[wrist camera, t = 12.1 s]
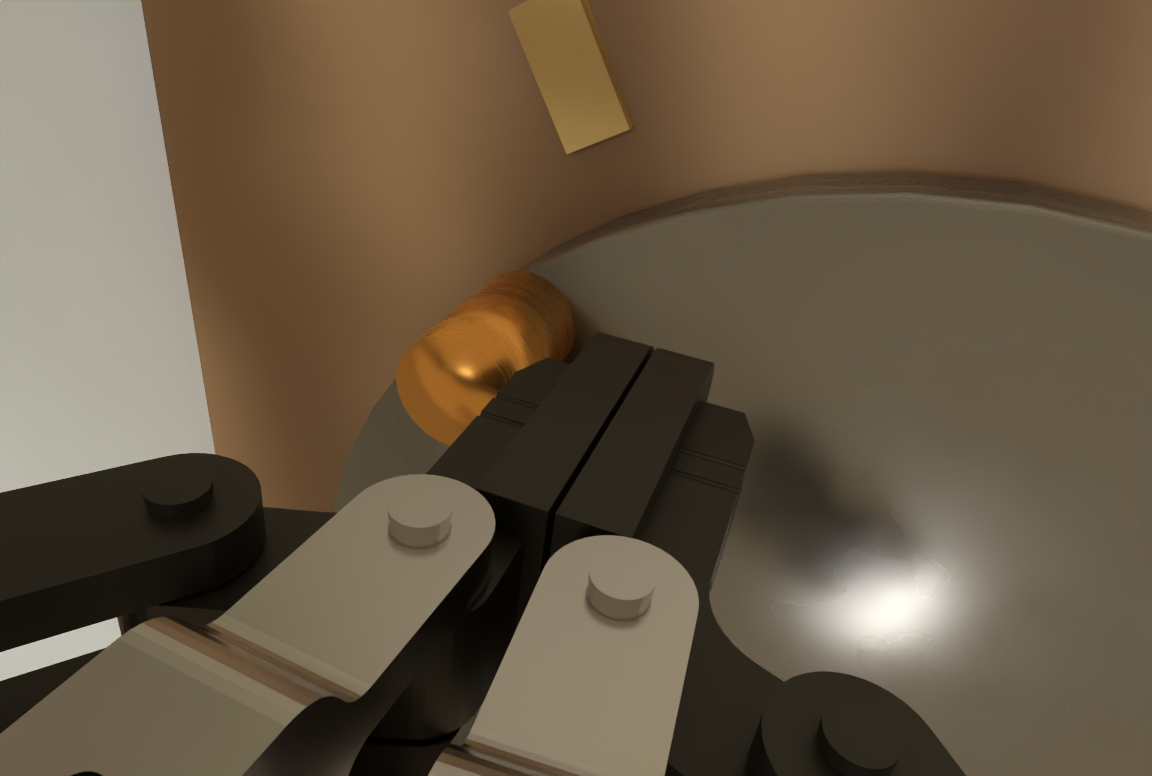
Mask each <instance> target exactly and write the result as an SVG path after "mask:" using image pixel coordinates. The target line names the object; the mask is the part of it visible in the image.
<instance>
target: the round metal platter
mask: <svg viewBox="0 0 1152 776" xmlns="http://www.w3.org/2000/svg"><path fill="white" fill-rule="evenodd" d="M597 332H602V333H605V334H609V335H613V336H616V337H620V338H624V339H627V340H631V341H635V342H638V343H642V344H646V345H650V346H653V347H654V350H655V349H656V348H661V349H665V350H669V351H672V352H676V353H680V354H684V355H687V356H691V357H695V358H698V359H702V360H706V361H709V362H713V363H714V364H715V366H714V373H713V378H712V383H711V387H710V391H709V396H708V400H707V402H708V403H711V404H715V405H718V406H722V407H726V408H729V409H733V410H736V411H740V412H743V413H745V415H746V418H747V420H748V423H749V426H750V429H751V431H752V434H753V437H754V440H755V442H754V445H753V449H752V453H751V456H750V460H749V463H748V467H747V471H746V474H745V478H744V481H743V485H742V489H741V492H740V496H739V499H738V503H737V507H736V510H735V514H734V517H733V521H732V525H731V528H730V532H729V535H728V539H727V542H726V545H725V548H724V552H723V555H722V558H721V561H720V564H719V567H718V571H717V574H716V577H715V581H714V584H713V587H712V590H711V593H710V597H709V599H710V604H711V608H712V611H713V614H714V616H715V618H716V621H717V623H718V624H719V626H720V627H721V629H722V631H723V632H724V634H725V635H726V636H727V637H728V638H729V640H730V641H731V642H732V643H733V644H734V645H735V646H736V647H737V648H738V649H739V650H740V651H741V652H742V653H743V654H745V655H746V656H747V657H749V658H750V659H751V660H753V661H754V662H755V663H757V664H758V665H760V666H761V667H763V668H764V669H766V670H767V671H769V672H770V673H772V674H773V675H775V676H776V677H778V678H779V679H781V680H782V681H784V682H785V681H787V680H788V679H790V678H792V677H794V676H797V675H801V674H804V673H809V672H817V671H827V672H838V673H844V674H849V675H852V676H856V677H859V678H862V679H865V680H867V681H869V682H872V683H874V684H876V685H879V686H880V687H882V688H884V689H886V690H887V691H889V692H891V693H892V694H894V695H895V696H897V697H898V698H899V699H901V700H902V701H904V702H905V703H906V704H907V705H909V706H910V707H911V708H912V709H913V710H914V711H915V712H916V713H917V714H918V715H919V716H920V717H921V718H922V719H923V720H924V721H925V723H926V724H927V725H928V726H929V727H930V728H931V730H932V731H933V732H934V734H935V735H936V736H937V738H938V739H939V740H940V742H941V743H942V744H943V746H944V747H945V748H946V750H947V751H948V752H949V753H950V755H951V756H952V757H953V759H954V760H955V761H956V763H957V764H958V765H959V767H960V768H961V769H962V771H963V772H964V773H965V775H966V776H1152V213H1150V212H1147V211H1144V210H1141V209H1137V208H1133V207H1128V206H1124V205H1119V204H1115V203H1110V202H1106V201H1101V200H1097V199H1092V198H1088V197H1083V196H1079V195H1074V194H1070V193H1065V192H1061V191H1056V190H1052V189H1047V188H1043V187H1038V186H1034V185H1029V184H1025V183H1015V182H1004V181H994V180H984V179H973V178H963V177H953V176H942V175H932V174H922V173H874V174H836V175H804V176H798V177H791V178H785V179H778V180H772V181H765V182H759V183H752V184H746V185H739V186H733V187H726V188H720V189H713V190H708V191H705V192H701V193H698V194H694V195H691V196H688V197H684V198H681V199H677V200H674V201H671V202H667V203H664V204H660V205H657V206H653V207H650V208H647V209H643V210H640V211H636V212H633V213H630V214H626V215H624V216H621V217H619V218H617V219H615V220H613V221H610V222H608V223H606V224H604V225H602V226H599V227H597V228H595V229H593V230H591V231H588V232H586V233H584V234H582V235H580V236H577V237H575V238H573V239H571V240H569V241H566V242H564V243H562V244H560V245H558V246H555V247H553V248H552V249H550V250H549V251H547V252H546V253H544V254H542V255H541V256H539V257H538V258H536V259H535V260H533V261H532V262H530V263H529V264H527V265H526V266H524V267H523V268H521V269H519V270H518V271H507V272H504V273H501V274H499V275H496V276H495V277H493V278H492V279H491V280H489V281H488V282H487V283H486V284H485V285H483V286H482V287H481V288H480V289H478V290H477V291H476V292H475V293H474V294H472V295H471V296H470V297H469V298H467V299H466V300H465V301H464V302H463V303H461V304H460V305H459V306H458V307H457V308H455V309H454V310H453V311H452V312H450V313H449V314H448V315H447V316H446V317H444V318H443V319H442V320H441V321H440V322H438V323H437V324H436V325H435V326H433V327H432V328H431V329H430V330H429V331H427V332H426V333H425V334H424V335H422V336H421V337H420V338H419V339H418V340H416V341H415V342H414V343H413V344H412V345H410V346H409V347H408V348H407V349H406V350H405V352H404V353H403V354H402V356H401V358H400V360H399V363H398V366H397V372H396V378H395V380H394V381H393V382H392V384H391V385H390V386H389V388H388V389H387V390H386V391H385V393H384V394H383V395H382V397H381V398H380V399H379V401H378V402H377V403H376V404H375V406H374V407H373V408H372V410H371V412H370V414H369V416H368V418H367V420H366V422H365V424H364V426H363V428H362V430H361V432H360V434H359V436H358V438H357V439H356V441H355V443H354V445H353V447H352V449H351V451H350V453H349V455H348V457H347V461H346V464H345V467H344V471H343V474H342V477H341V480H340V484H339V487H338V490H337V494H336V497H335V500H334V503H333V510H332V512H339V511H340V510H341V509H342V508H344V507H345V506H346V505H347V504H348V503H349V502H350V501H351V500H353V499H354V498H355V497H356V496H357V495H358V494H360V493H361V492H362V491H364V490H365V489H367V488H368V487H370V486H372V485H374V484H376V483H378V482H381V481H384V480H386V479H390V478H394V477H398V476H404V475H414V474H426V473H427V472H428V471H429V470H430V468H431V467H432V466H433V465H434V464H435V463H436V462H437V461H438V459H439V458H440V457H441V456H442V455H443V454H444V453H445V451H446V450H447V449H448V448H449V447H450V446H451V445H452V444H453V442H454V441H455V440H456V439H457V438H458V437H459V436H460V434H461V433H462V432H463V431H464V430H465V429H466V428H467V427H468V425H469V424H470V423H471V422H472V421H473V420H474V419H475V417H476V416H477V415H478V416H480V414H481V411H482V410H483V408H484V407H485V406H486V405H487V404H488V403H489V402H490V400H491V399H492V398H493V397H494V398H496V396H497V392H498V391H499V390H500V389H501V388H502V387H503V386H504V385H505V383H506V382H507V381H508V380H509V379H510V378H511V377H512V375H513V374H514V373H515V372H516V371H518V370H521V369H523V368H525V367H527V366H530V365H532V364H534V363H536V362H538V361H541V360H543V359H545V358H547V357H548V358H551V359H555V360H558V361H562V362H565V363H569V364H572V362H573V361H574V360H575V359H576V357H577V356H578V355H579V353H580V352H581V351H582V350H583V348H584V347H585V346H586V344H587V343H588V342H589V340H590V339H591V338H592V337H593V335H594V334H595V333H597ZM482 704H483V703H482ZM481 707H482V705H481ZM481 707H480V709H481ZM480 709H479V711H480Z"/></svg>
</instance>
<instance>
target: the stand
mask: <svg viewBox="0 0 1152 776" xmlns="http://www.w3.org/2000/svg"><path fill="white" fill-rule="evenodd" d="M141 2H142V8H143V14H144V20H145V26H146V32H147V38H148V44H149V51H150V57H151V63H152V69H153V75H154V81H155V87H156V93H157V99H158V105H159V112H160V118H161V124H162V130H163V136H164V142H165V148H166V154H167V160H168V166H169V172H170V179H171V185H172V191H173V197H174V203H175V209H176V215H177V221H178V227H179V233H180V240H181V246H182V252H183V258H184V264H185V270H186V276H187V282H188V288H189V294H190V300H191V307H192V313H193V319H194V325H195V331H196V337H197V343H198V349H199V355H200V361H201V368H202V374H203V380H204V386H205V392H206V398H207V404H208V410H209V416H210V422H211V428H212V435H213V441H214V447H215V453H216V455H220V456H224V457H228V458H231V459H234V460H236V461H239V462H241V463H242V464H244V465H246V466H247V467H249V468H250V469H251V470H252V471H253V472H254V473H255V475H256V476H257V478H258V479H259V482H260V485H261V491H262V501H263V507H271V508H282V509H294V510H306V511H318V512H332V510H333V503H334V500H335V497H336V494H337V490H338V487H339V484H340V480H341V477H342V474H343V471H344V467H345V464H346V461H347V457H348V455H349V453H350V451H351V449H352V447H353V445H354V443H355V441H356V439H357V438H358V436H359V434H360V432H361V430H362V428H363V426H364V424H365V422H366V420H367V418H368V416H369V414H370V412H371V410H372V408H373V407H374V406H375V404H376V403H377V402H378V401H379V399H380V398H381V397H382V395H383V394H384V393H385V391H386V390H387V389H388V388H389V386H390V385H391V384H392V382H393V381H394V380H395V378H396V372H397V366H398V363H399V360H400V358H401V356H402V354H403V353H404V352H405V350H406V349H407V348H408V347H409V346H410V345H412V344H413V343H414V342H415V341H416V340H418V339H419V338H420V337H421V336H422V335H424V334H425V333H426V332H427V331H429V330H430V329H431V328H432V327H433V326H435V325H436V324H437V323H438V322H440V321H441V320H442V319H443V318H444V317H446V316H447V315H448V314H449V313H450V312H452V311H453V310H454V309H455V308H457V307H458V306H459V305H460V304H461V303H463V302H464V301H465V300H466V299H467V298H469V297H470V296H471V295H472V294H474V293H475V292H476V291H477V290H478V289H480V288H481V287H482V286H483V285H485V284H486V283H487V282H488V281H489V280H491V279H492V278H493V277H495V276H496V275H499V274H501V273H504V272H507V271H518V270H519V269H521V268H523V267H524V266H526V265H527V264H529V263H530V262H532V261H533V260H535V259H536V258H538V257H539V256H541V255H542V254H544V253H546V252H547V251H549V250H550V249H552V248H553V247H555V246H558V245H560V244H562V243H564V242H566V241H569V240H571V239H573V238H575V237H577V236H580V235H582V234H584V233H586V232H588V231H591V230H593V229H595V228H597V227H599V226H602V225H604V224H606V223H608V222H610V221H613V220H615V219H617V218H619V217H621V216H624V215H626V214H630V213H633V212H636V211H640V210H643V209H647V208H650V207H653V206H657V205H660V204H664V203H667V202H671V201H674V200H677V199H681V198H684V197H688V196H691V195H694V194H698V193H701V192H705V191H708V190H713V189H720V188H726V187H733V186H739V185H746V184H752V183H759V182H765V181H772V180H778V179H785V178H791V177H798V176H804V175H836V174H874V173H922V174H932V175H942V176H953V177H963V178H973V179H984V180H994V181H1004V182H1015V183H1025V184H1029V185H1034V186H1038V187H1043V188H1047V189H1052V190H1056V191H1061V192H1065V193H1070V194H1074V195H1079V196H1083V197H1088V198H1092V199H1097V200H1101V201H1106V202H1110V203H1115V204H1119V205H1124V206H1128V207H1133V208H1137V209H1141V210H1144V211H1147V212H1150V213H1152V0H141Z"/></svg>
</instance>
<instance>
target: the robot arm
mask: <svg viewBox="0 0 1152 776" xmlns="http://www.w3.org/2000/svg"><path fill="white" fill-rule="evenodd" d="M714 366H715V364H714V363H713V362H709V361H706V360H702V359H698V358H695V357H691V356H687V355H684V354H680V353H676V352H672V351H669V350H665V349H661V348H656V349H655V350H654V347H653V346H650V345H646V344H642V343H638V342H635V341H631V340H627V339H624V338H620V337H616V336H613V335H609V334H605V333H602V332H597V333H595V334H594V335H593V337H592V338H591V339H590V340H589V342H588V343H587V344H586V346H585V347H584V348H583V350H582V351H581V352H580V353H579V355H578V356H577V357H576V359H575V360H574V361H573V362H572V364H569V363H565V362H562V361H558V360H555V359H551V358H548V357H547V358H545V359H543V360H541V361H538V362H536V363H534V364H532V365H530V366H527V367H525V368H523V369H521V370H518V371H516V372H515V373H514V374H513V375H512V377H511V378H510V379H509V380H508V381H507V382H506V383H505V385H504V386H503V387H502V388H501V389H500V390H499V391H498V392H497V396H496V398H494V397H493V398H492V399H491V400H490V402H489V403H488V404H487V405H486V406H485V407H484V408H483V410H482V411H481V414H480V416H478V415H477V416H476V417H475V419H474V420H473V421H472V422H471V423H470V424H469V425H468V427H467V428H466V429H465V430H464V431H463V432H462V433H461V434H460V436H459V437H458V438H457V439H456V440H455V441H454V442H453V444H452V445H451V446H450V447H449V448H448V449H447V450H446V451H445V453H444V454H443V455H442V456H441V457H440V458H439V459H438V461H437V462H436V463H435V464H434V465H433V466H432V467H431V468H430V470H429V471H428V472H427V473H426V474H414V475H404V476H398V477H394V478H390V479H386V480H384V481H381V482H378V483H376V484H374V485H372V486H370V487H368V488H367V489H365V490H364V491H362V492H361V493H360V494H358V495H357V496H356V497H355V498H354V499H353V500H351V501H350V502H349V503H348V504H347V505H346V506H345V507H344V508H342V509H341V510H340V511H339V512H318V511H306V510H294V509H282V508H271V507H263V501H262V491H261V485H260V482H259V479H258V478H257V476H256V475H255V473H254V472H253V471H252V470H251V469H250V468H249V467H247V466H246V465H244V464H242V463H241V462H239V461H236V460H234V459H231V458H228V457H224V456H220V455H214V454H206V453H189V454H178V455H172V456H166V457H161V458H157V459H152V460H148V461H143V462H139V463H134V464H129V465H125V466H120V467H116V468H111V469H107V470H102V471H98V472H93V473H89V474H84V475H80V476H75V477H70V478H66V479H61V480H57V481H52V482H48V483H43V484H39V485H34V486H30V487H25V488H21V489H16V490H11V491H7V492H2V493H0V652H2V651H5V650H9V649H12V648H15V647H19V646H22V645H25V644H29V643H32V642H35V641H39V640H42V639H45V638H49V637H52V636H55V635H59V634H62V633H65V632H69V631H72V630H75V629H79V628H82V627H85V626H89V625H92V624H95V623H99V622H102V621H105V620H109V619H112V618H115V617H117V618H118V622H119V627H120V631H121V635H122V636H121V637H119V638H118V639H117V640H116V641H114V642H113V643H112V644H111V645H109V646H108V647H107V648H104V649H101V650H98V651H95V652H92V653H89V654H85V655H82V656H79V657H76V658H73V659H70V660H66V661H63V662H60V663H57V664H54V665H50V666H47V667H44V668H41V669H38V670H35V671H31V672H28V673H25V674H22V675H19V676H16V677H12V678H9V679H6V680H3V681H0V776H966V775H965V773H964V772H963V771H962V769H961V768H960V767H959V765H958V764H957V763H956V761H955V760H954V759H953V757H952V756H951V755H950V753H949V752H948V751H947V750H946V748H945V747H944V746H943V744H942V743H941V742H940V740H939V739H938V738H937V736H936V735H935V734H934V732H933V731H932V730H931V728H930V727H929V726H928V725H927V724H926V723H925V721H924V720H923V719H922V718H921V717H920V716H919V715H918V714H917V713H916V712H915V711H914V710H913V709H912V708H911V707H910V706H909V705H907V704H906V703H905V702H904V701H902V700H901V699H899V698H898V697H897V696H895V695H894V694H892V693H891V692H889V691H887V690H886V689H884V688H882V687H880V686H879V685H876V684H874V683H872V682H869V681H867V680H865V679H862V678H859V677H856V676H852V675H849V674H844V673H838V672H827V671H817V672H809V673H804V674H801V675H797V676H794V677H792V678H790V679H788V680H787V681H785V682H784V681H782V680H781V679H779V678H778V677H776V676H775V675H773V674H772V673H770V672H769V671H767V670H766V669H764V668H763V667H761V666H760V665H758V664H757V663H755V662H754V661H753V660H751V659H750V658H749V657H747V656H746V655H745V654H743V653H742V652H741V651H740V650H739V649H738V648H737V647H736V646H735V645H734V644H733V643H732V642H731V641H730V640H729V638H728V637H727V636H726V635H725V634H724V632H723V631H722V629H721V627H720V626H719V624H718V623H717V621H716V618H715V616H714V614H713V611H712V608H711V604H710V599H709V597H710V593H711V590H712V587H713V584H714V581H715V577H716V574H717V571H718V567H719V564H720V561H721V558H722V555H723V552H724V548H725V545H726V542H727V539H728V535H729V532H730V528H731V525H732V521H733V517H734V514H735V510H736V507H737V503H738V499H739V496H740V492H741V489H742V485H743V481H744V478H745V474H746V471H747V467H748V463H749V460H750V456H751V453H752V449H753V445H754V442H755V440H754V437H753V434H752V431H751V429H750V426H749V423H748V420H747V418H746V415H745V413H743V412H740V411H736V410H733V409H729V408H726V407H722V406H718V405H715V404H711V403H708V402H707V400H708V396H709V391H710V387H711V383H712V378H713V373H714ZM482 703H483V704H482ZM481 705H482V707H481ZM480 707H481V709H480ZM479 709H480V711H479Z"/></svg>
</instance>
